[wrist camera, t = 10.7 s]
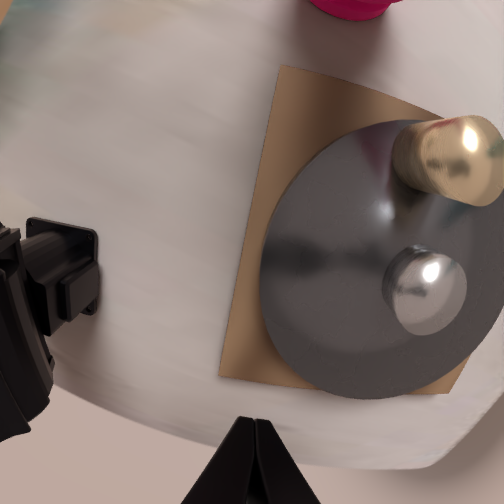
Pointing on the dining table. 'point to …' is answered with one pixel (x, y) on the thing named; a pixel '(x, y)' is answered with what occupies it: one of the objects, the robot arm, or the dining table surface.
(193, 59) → the dining table surface
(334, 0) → the pepper mill
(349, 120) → the wheel mount
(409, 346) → the handwheel
